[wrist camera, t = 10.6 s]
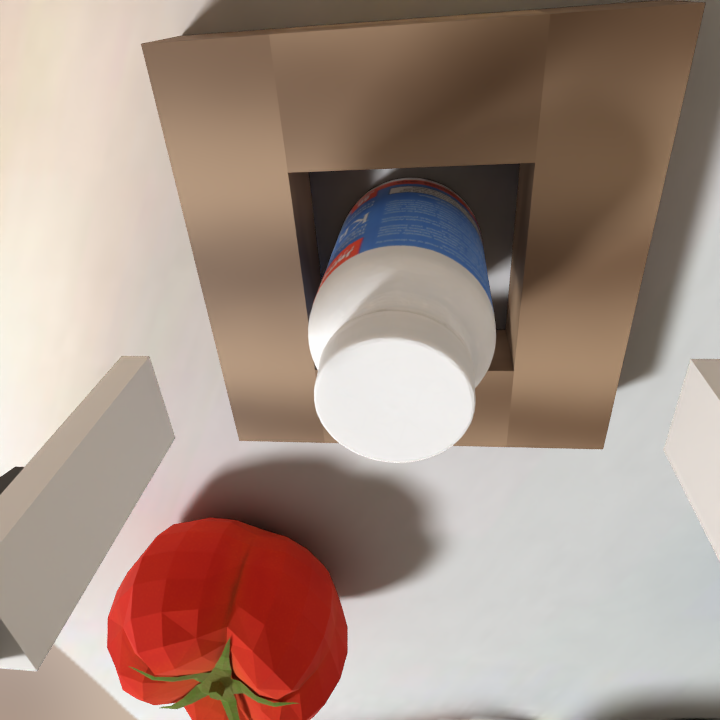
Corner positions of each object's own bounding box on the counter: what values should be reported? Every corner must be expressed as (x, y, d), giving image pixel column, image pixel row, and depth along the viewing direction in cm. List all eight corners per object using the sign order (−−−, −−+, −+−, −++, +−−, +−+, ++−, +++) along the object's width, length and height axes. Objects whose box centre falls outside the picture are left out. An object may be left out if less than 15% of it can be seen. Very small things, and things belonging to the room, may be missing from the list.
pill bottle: (354, 158, 20) (300, 278, 12) (500, 192, 20) (545, 332, 12) (329, 292, 23) (274, 457, 15) (457, 320, 23) (469, 500, 15)
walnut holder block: (586, 402, 25) (603, 449, 22) (257, 398, 27) (239, 440, 24) (664, -1, 16) (706, 2, 14) (180, 35, 18) (140, 43, 16)
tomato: (121, 564, 36) (44, 707, 29) (201, 452, 29) (127, 601, 22) (291, 642, 39) (260, 789, 32) (397, 556, 32) (387, 717, 25)
